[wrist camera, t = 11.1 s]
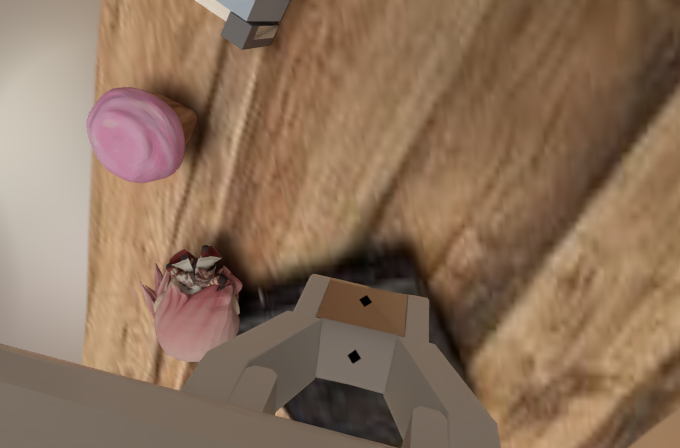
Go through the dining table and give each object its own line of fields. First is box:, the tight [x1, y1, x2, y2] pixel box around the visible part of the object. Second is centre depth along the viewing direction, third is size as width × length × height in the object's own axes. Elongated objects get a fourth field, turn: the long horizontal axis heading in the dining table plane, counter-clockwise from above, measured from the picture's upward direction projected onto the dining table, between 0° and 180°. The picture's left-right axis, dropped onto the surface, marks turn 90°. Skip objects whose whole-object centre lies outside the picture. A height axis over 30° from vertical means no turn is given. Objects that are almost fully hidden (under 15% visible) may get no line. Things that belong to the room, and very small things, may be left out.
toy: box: [139, 245, 242, 362], centre depth 48 cm, size 12×11×15 cm
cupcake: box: [87, 87, 197, 183], centre depth 40 cm, size 9×9×10 cm
